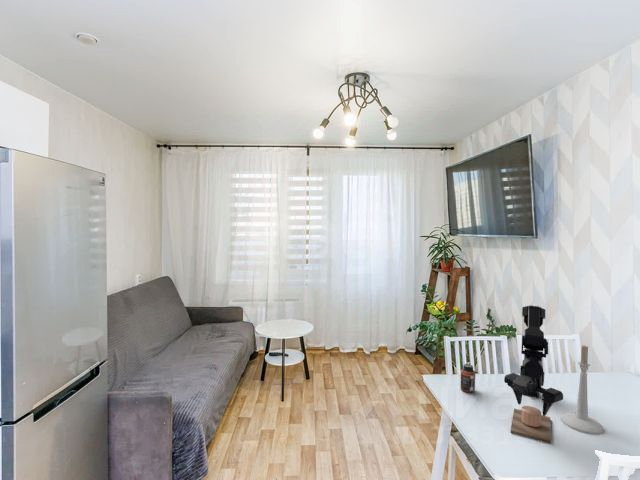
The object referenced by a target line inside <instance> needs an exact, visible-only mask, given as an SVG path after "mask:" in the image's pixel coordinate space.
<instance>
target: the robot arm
mask: <svg viewBox="0 0 640 480" xmlns="http://www.w3.org/2000/svg"><path fill="white" fill-rule="evenodd" d="M521 310H522V311H521V317H523V323H524V325H525V326H526V327H527V328H525V329H524V331H523V332H524V333H523V335H521V351H520V353H521V355H524V356H523V360H522V365H520V371H519V372H520V374H517V373H515V372H512V373H508V374H506V375H505V376H504V377H503V379H504V380H503V382H504V383H506V385H507V386H509V388H511V390H512V391H513V393H514V396H515V400H516V402H517V404H518V405H521V404H522V400H523V395H525V396H529V397H532V398H536V399H540V394H541V395H542V398H541V401H542V415H543V416H547V414H548V412H549V410H550V409H551V407H552V406H553V404H555V403H558V402H561V401H564V393H563V392H562V391H561V390H559V389H556V388H553V387H550V388H544V387H543V386H544V385H545V384H544V383H545V371H544V365H543V364H544V363H543V359H544V358H545V359H546V358H547V355H549V342H548V340H547V338H545V333H544V331H542V330H541V327H542V326H543V325H544V320H545V319H546V309H545V308H543V307H540V306H539V305H525V306H522V309H521Z"/></svg>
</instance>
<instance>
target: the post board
mask: <svg viewBox="0 0 640 480" xmlns="http://www.w3.org/2000/svg"><path fill="white" fill-rule="evenodd" d="M521 414H522V409H518V408H513V414H512V419H511V425H510V434H514V435H518V436H522V437H524V438H529V439H531V438H532V440H536V441H538V440H539V442H543V443H546V444H549V443H551V442H552V440H551V439H552V438H551V437H552V436H551V435H552V434H551V417H550V416H547V415H545V416H543V414H541V426H539V427H533V426H529V425H527V424H525V423H523V422H522V421H521ZM551 444H552V443H551Z"/></svg>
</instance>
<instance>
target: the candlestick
mask: <svg viewBox="0 0 640 480" xmlns="http://www.w3.org/2000/svg"><path fill="white" fill-rule="evenodd" d="M588 355H589V346H588V345H584V344H582V345H581V349H580V361H578V365H579V369H580V372H579V375H580V376H579V382H578V384H579V385H578V394H577V402H576V412H568V413H567V412H566V413H564V414H562V415H561V416H560V420H561V423H563V424H564V425H565V426H567V427H568V428H570V429H572V430H575V431H577V432H580V433H584V434H589V435H600V434H603V433H604V430H605V428H604V426H603V425H602V424H601V422H599V421H597V420H596V419H595V418H593V417H591V416H589V408H588V405H589V404H588V401H589V400H588V372H587V371H588V370H589V367H590V366H591V364H589V363H588V362H589V361H588V360H589V359H588V358H589V356H588Z"/></svg>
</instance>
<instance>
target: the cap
mask: <svg viewBox="0 0 640 480" xmlns="http://www.w3.org/2000/svg"><path fill="white" fill-rule="evenodd" d="M521 410H522V414H521V421H522V422H523V423H525V424H527V425H529V426H533V427H539V426H541V415H542V411H541V410H540V409H539V408H537V407H535V406H532V405H531V406H530V405H522V407H521Z"/></svg>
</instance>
